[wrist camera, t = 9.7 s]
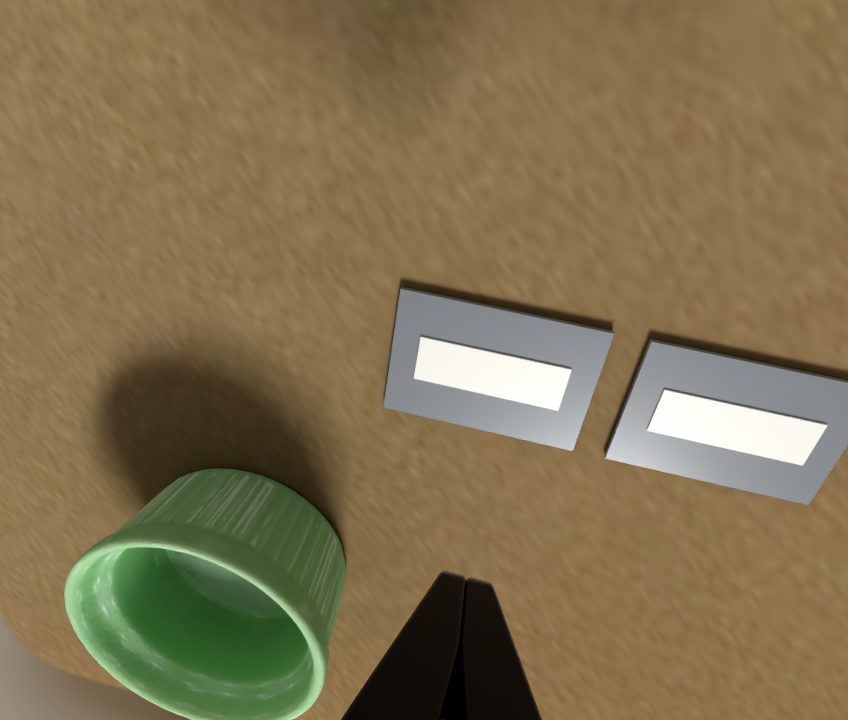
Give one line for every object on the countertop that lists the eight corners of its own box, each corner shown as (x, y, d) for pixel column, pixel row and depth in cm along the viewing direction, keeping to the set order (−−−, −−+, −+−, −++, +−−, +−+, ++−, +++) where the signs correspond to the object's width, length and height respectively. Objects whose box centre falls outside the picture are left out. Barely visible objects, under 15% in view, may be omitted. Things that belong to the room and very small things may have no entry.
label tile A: (878, 386, 14) (884, 391, 14) (804, 500, 16) (809, 506, 16) (650, 338, 14) (652, 342, 14) (604, 454, 16) (605, 459, 16)
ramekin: (344, 646, 23) (307, 758, 19) (150, 586, 23) (75, 684, 19) (379, 492, 19) (341, 595, 15) (142, 424, 19) (45, 506, 15)
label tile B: (613, 330, 14) (614, 334, 14) (572, 447, 16) (572, 452, 16) (401, 286, 15) (399, 289, 15) (384, 404, 17) (382, 408, 17)
